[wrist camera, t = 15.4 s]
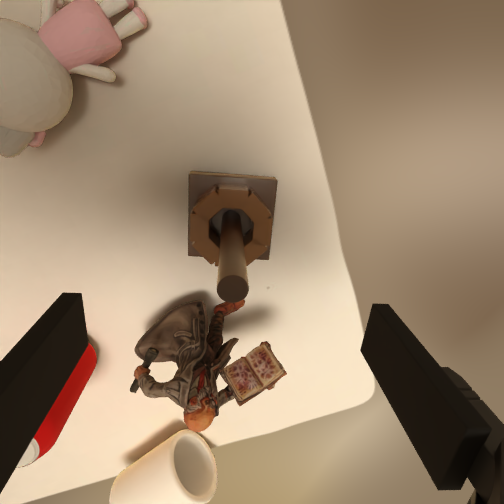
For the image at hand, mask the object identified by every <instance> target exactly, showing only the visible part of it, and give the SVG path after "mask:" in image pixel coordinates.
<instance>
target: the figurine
mask: <svg viewBox="0 0 504 504" xmlns="http://www.w3.org/2000/svg"><path fill="white" fill-rule="evenodd" d="M244 304H245V301H244V300H242V301H240V302H236V303H229V302H224V303H222V304H219V305H217V306H216V307H215V308H214V314H215V315H214V316H213V317H212V319H211V323H210V325H209V333H208V316H207V311H206V306H205V303H204V302H203V301H202V300H198V301H192V302H188V303H185V304H182V305H180V306H178V307H175V308H173V309H171V310H170V311H168V312H167V313H166V314H165V315H164V316H162V317H161V318H160V319H159V320H158V321H157V322H156V323H155V324H154V325H153V326H152V327H151V328H150V329H149V330H148V331H147V332H146V333H145V334H144V335H143V336H142V337H141V339H140V340H139V341H138V343H137V345H136V347H135V353H136V354H137V356H138V357H140V358H141V359H142V360H144V362H143V364H142V365H141V366H138V367H137V368H136V370H135V371H134V376H135V380H134V382H133V384H132V385H131V388H130V391H131V392H135V393H136V391H137V390H138V388H139V386H140V388H141V389H142V391H143V393H144V395H146V396H147V397H150V398H157V397H169V398H170V399H171V400H173V401H174V402H175V403H176V404H178V405H179V406H181V407H182V408H184V422H185V423H186V425H187V427H188V428H189V430H191V431H194V432H201V431H203V430H205V429H206V428H208V427H209V426H210V425H211V423H212V421H213V418H214V417H216V416H218V414H219V408H220V406H222V405H223V404H225V403H227V402H228V401H230V400H233V399H234V398H235V399H236V401H237V403H238V405H239V406H241V405H243V404H244V403H246V402H247V401H249V400H250V399H252V398H254V397H255V396H257V395H258V394H260V393H261V392H262V391H264V390H265V389H266V388H267V389H268V390H270V389H272V388H274V386H275V383H276V382H277V381H278V380H279V379H280V378H281V377H283V376H285V375H286V374H287V373H286V371H285V370H284V368H283V366H282V364H281V363H280V362H279V361H278V360H277V358H276V357H275V356H274V354H273V352H272V350H271V346H270V344H269V343H268V342H267V341H266V342H261V344H260V346H259V347H256V348H255V349H253V350H252V351H251V352H249V353H248V354H247V356H246V357H241V358H240V359H238V360H236V361H235V362H234V363H232V364H230V365H228V366H227V367H225V366H226V365H227V363H228V362H229V360H230V359H231V357H230V355H229V354H230V352H231V350H232V348H233V346H234V345H235V344H236V343H237V342H238V340H239V339H237V338H232V339H230V340H229V341H227V342H226V343H224V344H223V345H222V343H223V337H222V330H223V321H224V316H226V315H228V314H230V313H232V312H234V311H237V310H238V309H239V308H241V307H242V306H244ZM207 334H208V335H207ZM166 361H173V362H176V363H177V366H178V368H179V369H178V370H177V372H176V374H175V376H174V378H173V379H172V380H170V381H168V382H165V383H159V382H156V381H155V380H154V378H153V377H152V376H150V375H149V373H150V371H151V370H150V369H149V368H148V367H149V366H150V364H151V363H152V362H166ZM224 367H225V368H224ZM219 374H220V375H221V376H222V378H223V379H224V381H225V382H226V383H227V384H228V386H227V387H226V388H225V389H222V390H221V391H219V392H217V386H216V380H217V377H218V375H219Z"/></svg>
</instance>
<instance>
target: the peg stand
mask: <svg viewBox="0 0 504 504" xmlns="http://www.w3.org/2000/svg"><path fill="white" fill-rule="evenodd" d="M220 182H223V183H238V184H247V187H248V188H249V187H250V186H251V187H252V188H253V189H254V190H255V192H256V193H257V194H258V195H259V196H260V197H261V199H262V200H263V201H264V202H265V203H266V204H267V206H268V208H269V210H270V213H271V216H272V218H273V217H274V208H275V199H276V190H277V179H276V178H275V177H265V176H252V175H238V174H224V173H211V172H197V171H191V172H190V173H189V208H188V256H200V257H203V256H202V255H201V254H200V253H199V252H198V251H197V250H196V249H195V248H194V247H193V246H192V243H193V242H191V241H190V214H191V211H192V209H193V206H194V205H195V202H196V200H198V199H199V198H200V197H201V196H202V195H203V194H204V193H205V192H207V191H208V190H209V189H210V188H211V187H212V186H213V185H214V184H216V185H217V186H218V187H219V183H220ZM272 226H273V223H272ZM210 227H211V228H212V229H213V230H214V231H215V232H216V233H217V234H218V235H219V237H220V250H219V265H218V279H217V293H218V295H219V297H220V298H221V299H222V300H224V301H226V302H229V303H236V302H240V301H242V300H243V299H244V298H245V297H246V296H247V294H248V291H249V286H248V277H247V269H246V260H245V251H244V243H243V235H244V234H246V233H247V232H248V231H249V230H250V228H251V219H250V218H249V217H248V216H247V215H246V213H245V212H244V211H243V210H242V209H229V208H223V209H221V210H220V211H219V212H218V213H217V214H216V215H215V216H213V217H212V218H211V224H210ZM271 235H272V232H271ZM270 244H271V241H270ZM269 253H270V246H267V250H266V251H265V252H264V253H263V254H261V255H260V256H259V257H258V258H256V259H260V260H269Z"/></svg>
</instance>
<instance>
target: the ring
mask: <svg viewBox="0 0 504 504" xmlns="http://www.w3.org/2000/svg"><path fill="white" fill-rule="evenodd" d="M223 208H229V209H242V210H243V211H244V212H245V213H246V215H247V216H248V217H249V218H250V219H251V228H250V230H249V231H248V232H247V233H246V234H244V235H243V243H244V251H245V260H246V266H248V265H249V264H250V263H251V262H253V261H254V260H255V259H256V258H258V257H259V256H260V255H261V254H263V253H264V252H265V251H266V250H267V246H270V241H271V232H272V223H273V218H272V216H271V213H270V210H269V208H268V206H267V204H266V203H265V202H264V201H263V200H262V199H261V197H260V196H259V195H258V194H257V193H256V192H255V190H254V189H253V188H252V187H251V186H250V187H249V188H248V187H247V184H238V183H223V182H220V183H219V187H218V186H217V185H216V184H214V185H213V186H212V187H211V188H210V189H209V190H208V191H207V192H205V193H204V194H203V195H202V196H201V197H200V198H199V199H198V200H196V202H195V205H194V206H193V209H192V211H191V214H190V241H191V242H193V243H192V246H193V247H194V248H195V249H196V250H197V251H198V252H199V253H200V254H201V255H202V256H203V257H204V258H205V259H206V260H207V261H208V262H209V263H210V264H213V263H214V262H215V266H218V265H219V250H220V237H219V235H218V234H217V233H216V232H215V231H214V230H213V229H212V228H211V227H210V224H211V218H212V217H213V216H215V215H216V214H217V213H218V212H219V211H220V210H221V209H223Z"/></svg>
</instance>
